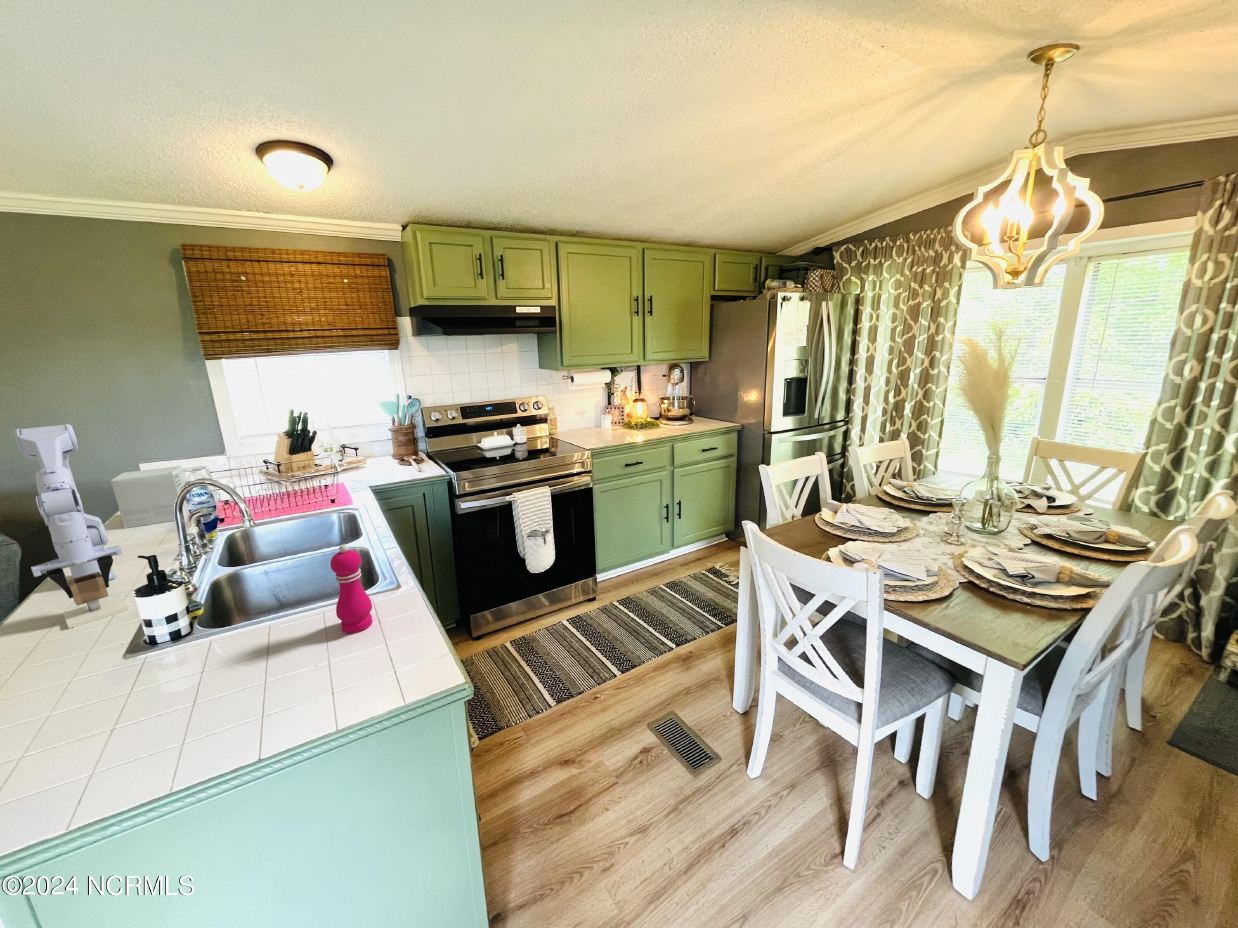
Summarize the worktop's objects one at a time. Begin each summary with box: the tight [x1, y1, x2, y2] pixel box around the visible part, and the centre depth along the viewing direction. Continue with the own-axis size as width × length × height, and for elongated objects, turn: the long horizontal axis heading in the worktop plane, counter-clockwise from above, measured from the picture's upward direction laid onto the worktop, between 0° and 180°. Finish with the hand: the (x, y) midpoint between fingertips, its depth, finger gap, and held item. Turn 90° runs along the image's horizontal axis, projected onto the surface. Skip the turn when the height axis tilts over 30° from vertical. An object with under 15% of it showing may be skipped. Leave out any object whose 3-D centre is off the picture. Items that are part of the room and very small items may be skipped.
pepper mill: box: [330, 544, 373, 634], centre depth 111 cm, size 7×7×20 cm
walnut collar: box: [66, 572, 109, 607], centre depth 119 cm, size 5×5×5 cm
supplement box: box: [109, 465, 186, 529], centre depth 183 cm, size 17×13×18 cm
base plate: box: [62, 595, 129, 630], centre depth 120 cm, size 9×10×5 cm
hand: (89, 591), depth 120 cm, fingers closed on walnut collar, 5 cm apart
